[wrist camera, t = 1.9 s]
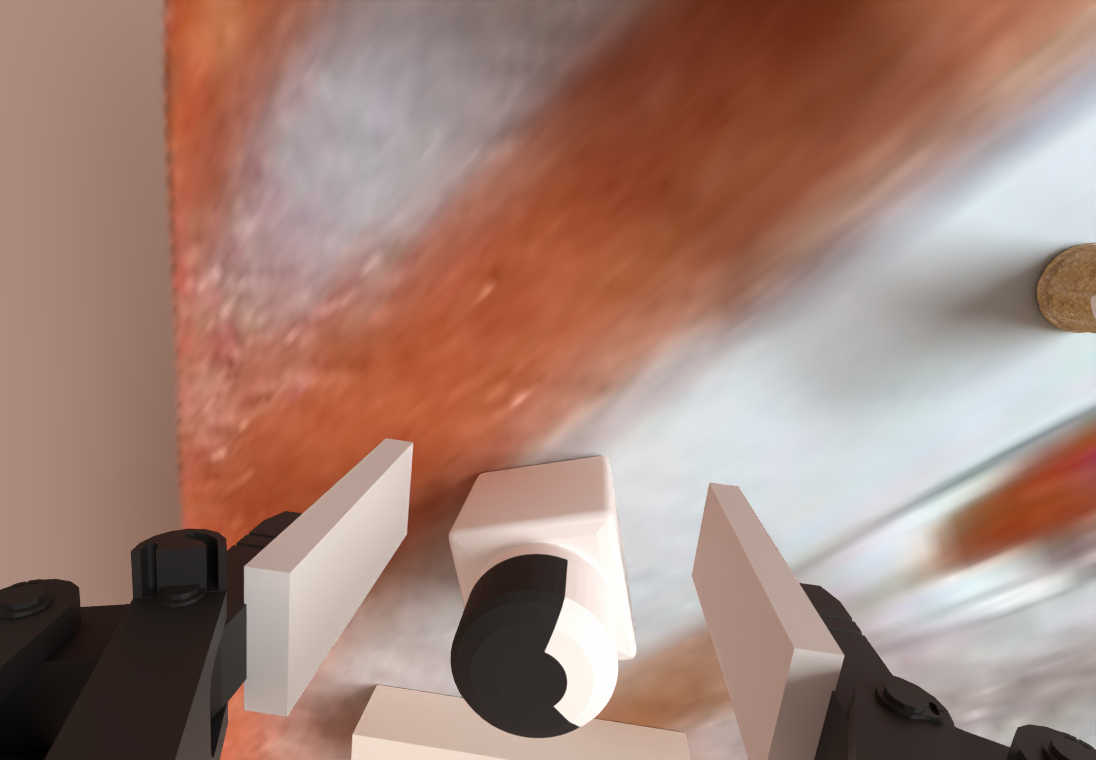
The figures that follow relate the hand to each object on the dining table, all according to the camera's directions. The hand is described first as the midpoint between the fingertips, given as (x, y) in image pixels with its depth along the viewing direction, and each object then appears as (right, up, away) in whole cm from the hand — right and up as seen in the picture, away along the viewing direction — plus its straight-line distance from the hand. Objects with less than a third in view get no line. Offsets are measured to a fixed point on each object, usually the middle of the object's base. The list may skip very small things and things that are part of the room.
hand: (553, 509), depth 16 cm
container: (0, -5, +19) cm, 20 cm away
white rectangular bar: (-2, -20, +22) cm, 30 cm away
